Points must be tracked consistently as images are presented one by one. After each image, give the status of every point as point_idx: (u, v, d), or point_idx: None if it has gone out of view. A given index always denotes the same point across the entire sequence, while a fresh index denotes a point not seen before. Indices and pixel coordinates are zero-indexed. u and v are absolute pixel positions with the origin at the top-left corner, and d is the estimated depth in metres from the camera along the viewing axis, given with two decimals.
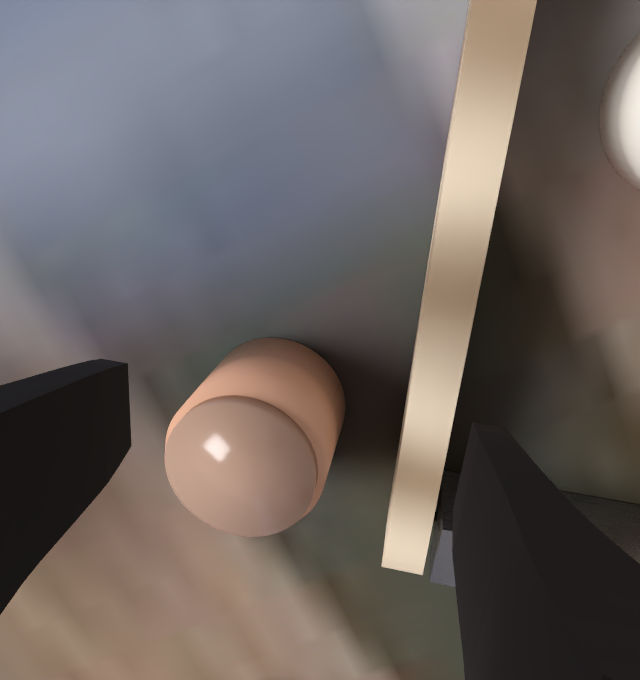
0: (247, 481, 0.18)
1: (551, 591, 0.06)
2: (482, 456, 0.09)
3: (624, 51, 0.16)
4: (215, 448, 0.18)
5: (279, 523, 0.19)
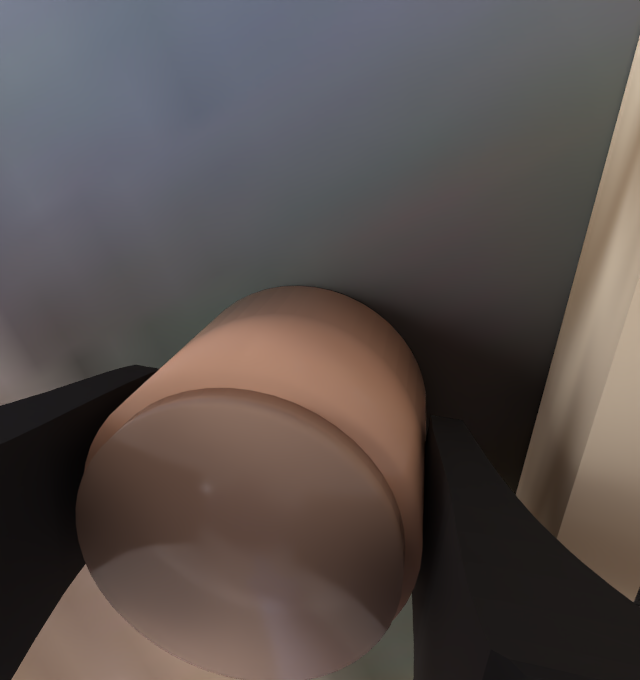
0: (252, 575, 0.08)
1: (469, 574, 0.06)
2: (434, 447, 0.09)
3: None
4: (182, 504, 0.08)
5: (319, 661, 0.09)
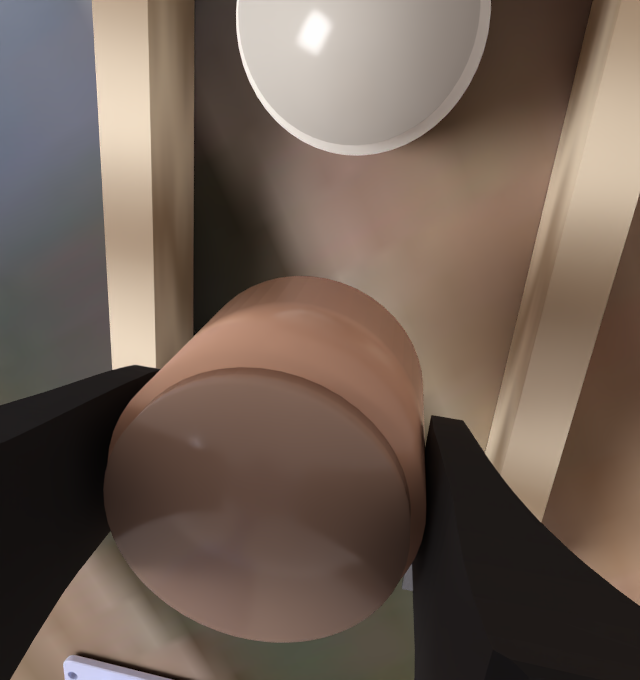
0: (269, 542, 0.09)
1: (471, 574, 0.06)
2: (435, 448, 0.09)
3: None
4: (210, 474, 0.09)
5: (323, 623, 0.10)
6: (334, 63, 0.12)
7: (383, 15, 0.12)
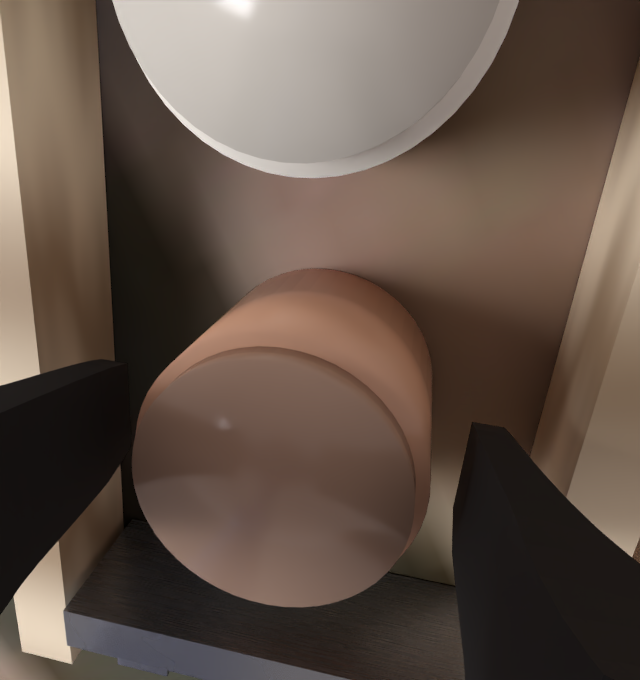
0: (283, 510, 0.10)
1: (551, 591, 0.06)
2: (482, 456, 0.09)
3: None
4: (230, 444, 0.10)
5: (333, 588, 0.10)
6: (264, 25, 0.07)
7: None
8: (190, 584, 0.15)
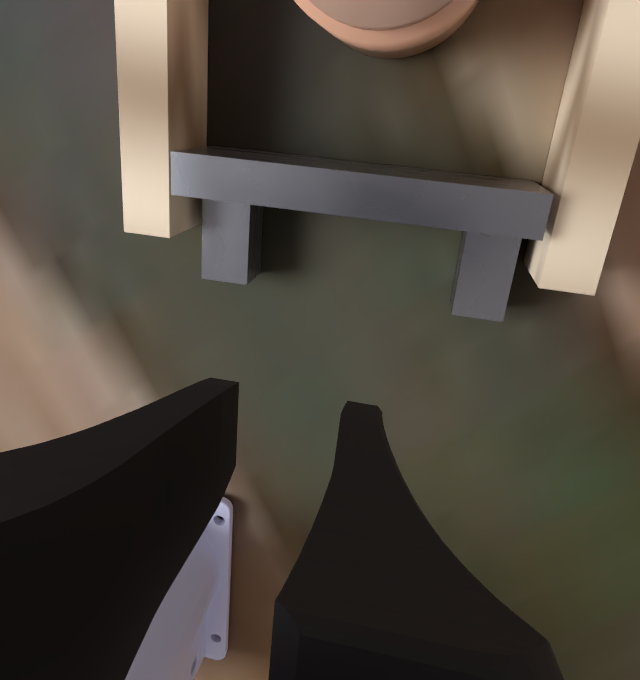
0: None
1: (310, 541, 0.06)
2: None
3: None
4: None
5: None
6: None
7: None
8: (276, 157, 0.17)
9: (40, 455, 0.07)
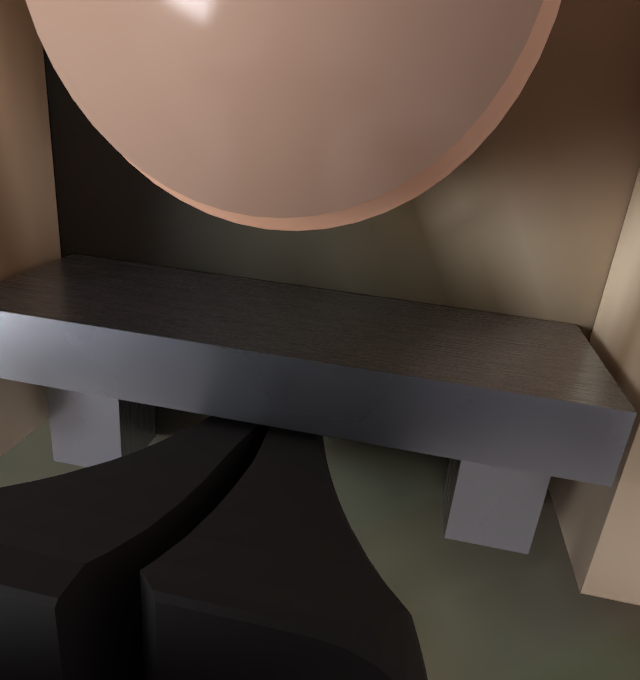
0: None
1: (209, 520, 0.06)
2: None
3: None
4: None
5: (403, 148, 0.06)
6: None
7: None
8: (147, 296, 0.10)
9: (121, 472, 0.07)
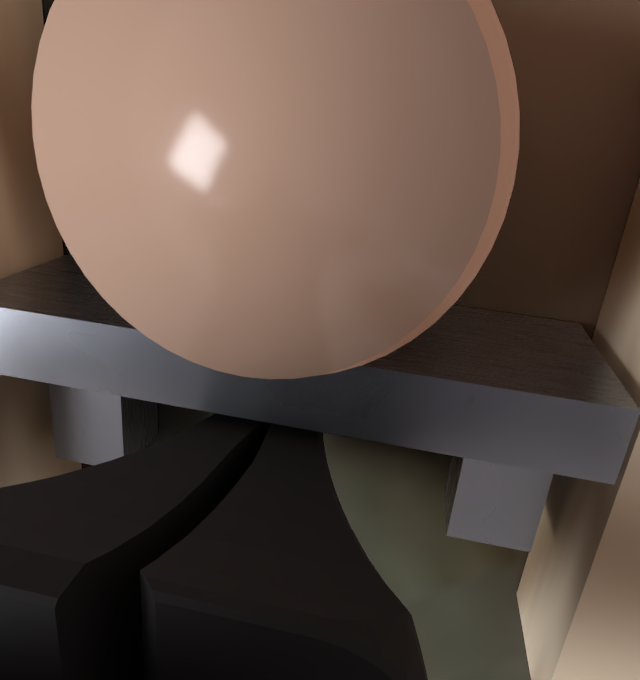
0: (279, 187, 0.06)
1: (208, 520, 0.06)
2: None
3: None
4: (181, 71, 0.06)
5: (370, 329, 0.06)
6: None
7: None
8: None
9: (121, 472, 0.07)
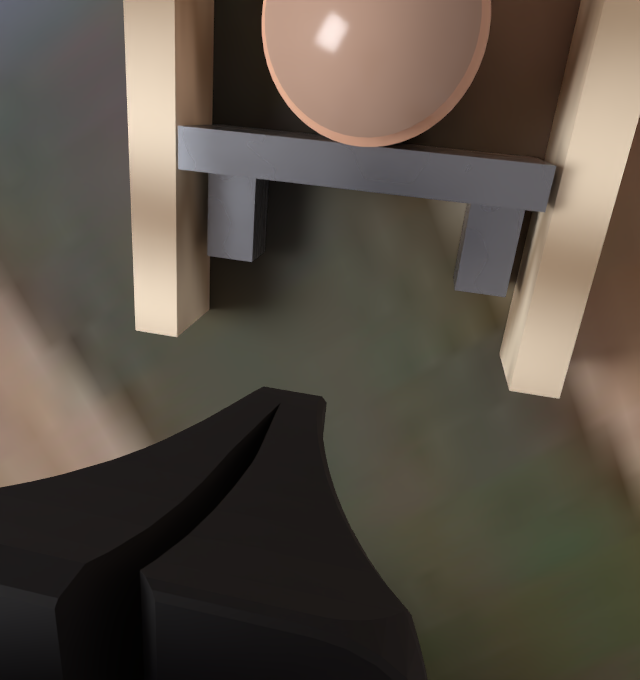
0: (382, 34, 0.13)
1: (208, 520, 0.06)
2: None
3: None
4: None
5: (422, 105, 0.13)
6: None
7: None
8: (282, 133, 0.17)
9: (121, 472, 0.07)
